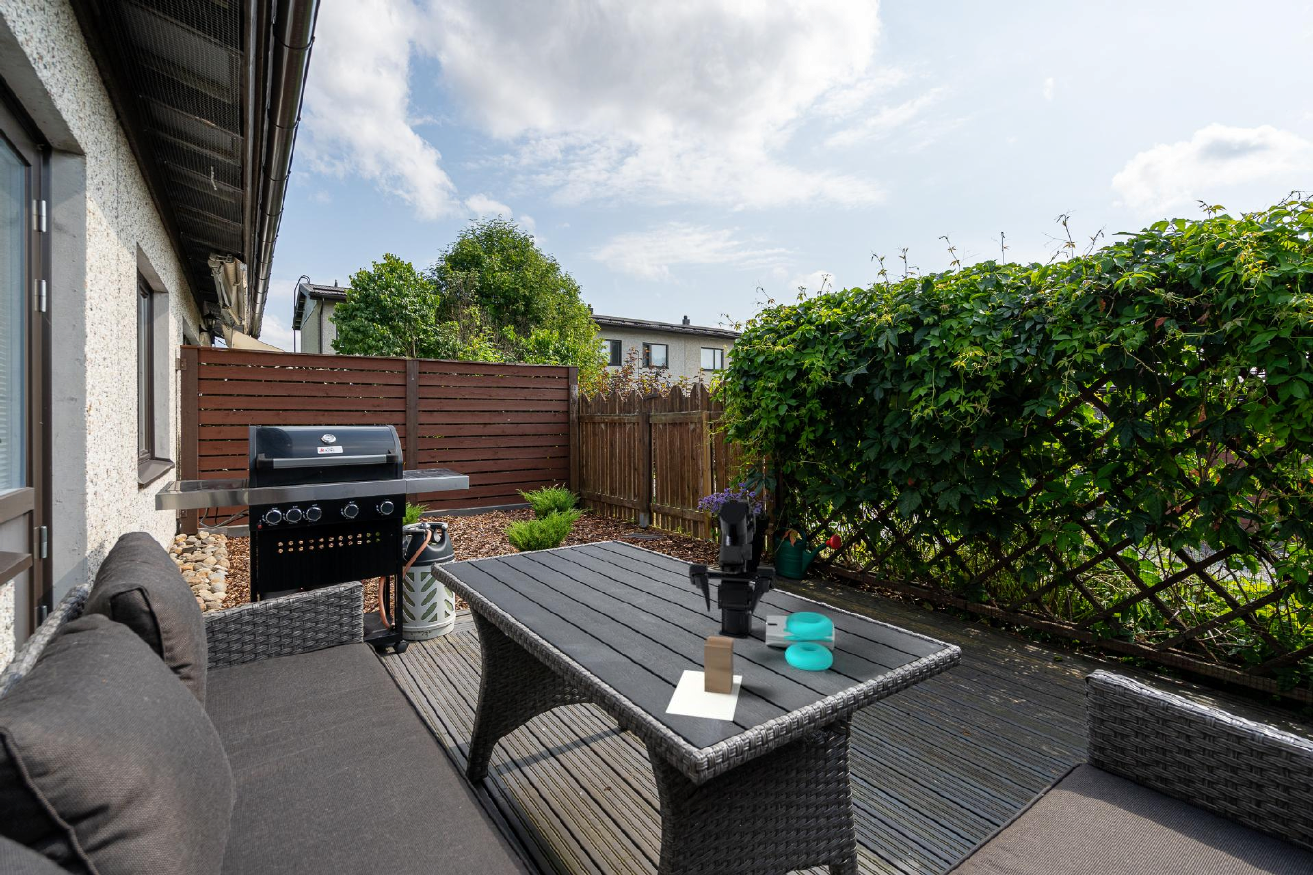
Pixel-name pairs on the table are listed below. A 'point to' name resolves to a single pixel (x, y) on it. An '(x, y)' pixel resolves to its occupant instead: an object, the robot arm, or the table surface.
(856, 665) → the table surface
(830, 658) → the donuts
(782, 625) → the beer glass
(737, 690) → the white mat
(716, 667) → the walnut block
